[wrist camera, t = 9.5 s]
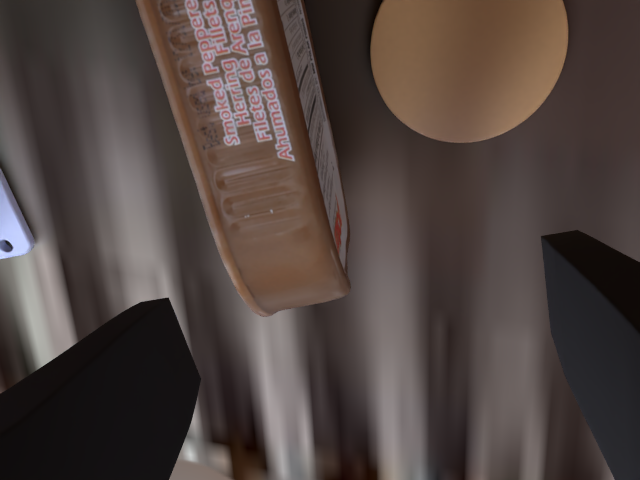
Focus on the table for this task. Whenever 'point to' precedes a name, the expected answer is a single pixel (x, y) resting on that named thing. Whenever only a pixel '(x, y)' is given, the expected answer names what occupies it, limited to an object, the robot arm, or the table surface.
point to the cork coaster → (467, 63)
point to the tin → (257, 143)
